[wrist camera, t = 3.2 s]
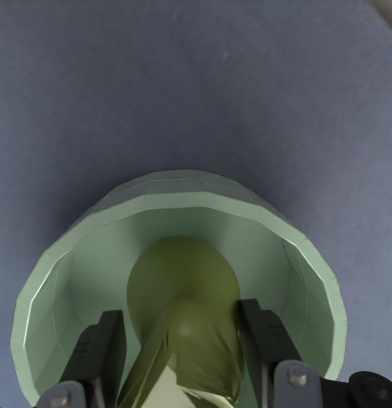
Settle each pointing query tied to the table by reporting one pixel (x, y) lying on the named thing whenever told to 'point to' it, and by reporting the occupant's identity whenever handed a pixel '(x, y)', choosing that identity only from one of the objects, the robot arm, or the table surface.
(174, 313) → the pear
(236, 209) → the pot
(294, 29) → the table surface
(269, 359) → the robot arm
